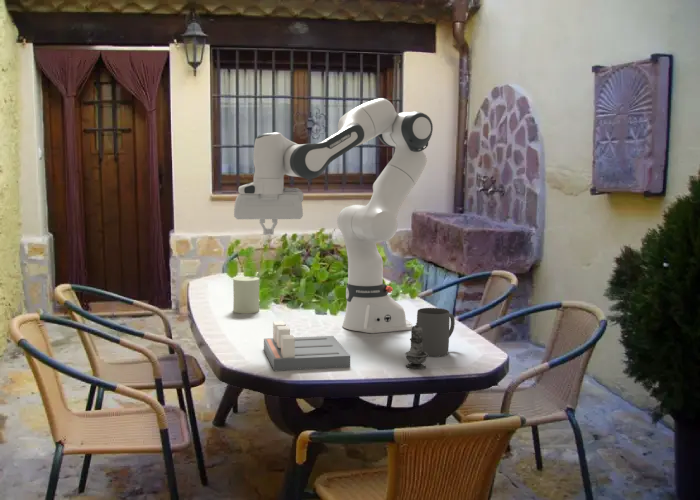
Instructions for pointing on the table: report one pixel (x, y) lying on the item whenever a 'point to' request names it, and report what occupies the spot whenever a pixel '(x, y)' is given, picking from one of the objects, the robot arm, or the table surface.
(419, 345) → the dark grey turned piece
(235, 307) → the can
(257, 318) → the table surface
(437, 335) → the mug
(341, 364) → the breaker panel
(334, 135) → the robot arm
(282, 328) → the handle
